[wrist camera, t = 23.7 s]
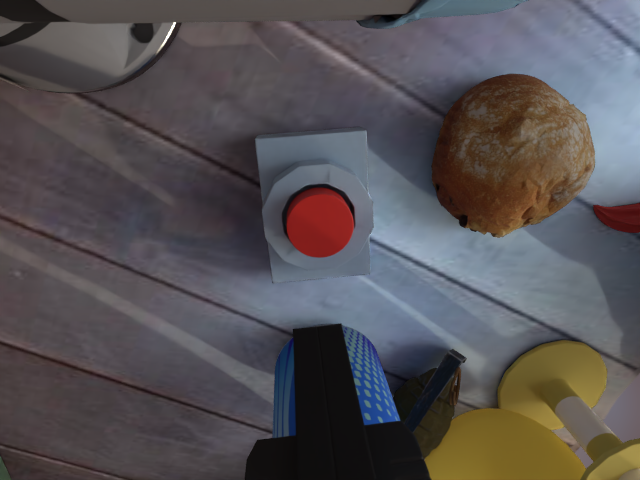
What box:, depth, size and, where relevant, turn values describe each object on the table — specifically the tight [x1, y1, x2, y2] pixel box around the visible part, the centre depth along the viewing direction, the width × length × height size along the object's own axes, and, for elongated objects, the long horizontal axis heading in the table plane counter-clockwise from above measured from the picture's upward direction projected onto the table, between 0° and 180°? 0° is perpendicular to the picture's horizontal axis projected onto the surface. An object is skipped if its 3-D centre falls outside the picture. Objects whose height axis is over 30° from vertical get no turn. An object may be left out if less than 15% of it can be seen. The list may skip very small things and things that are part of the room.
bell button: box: [287, 187, 354, 258], centre depth 25 cm, size 4×4×2 cm
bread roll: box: [432, 74, 595, 238], centre depth 27 cm, size 10×10×8 cm
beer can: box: [272, 324, 400, 438], centre depth 27 cm, size 8×8×16 cm
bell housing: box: [255, 127, 374, 283], centre depth 27 cm, size 10×7×4 cm
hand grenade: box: [393, 349, 467, 459], centre depth 33 cm, size 5×6×10 cm
